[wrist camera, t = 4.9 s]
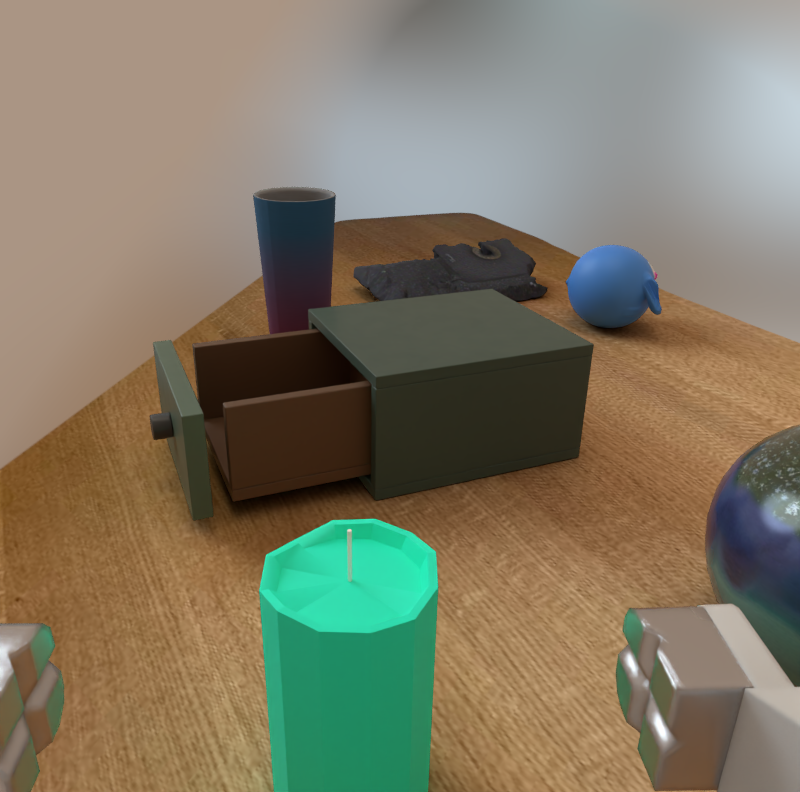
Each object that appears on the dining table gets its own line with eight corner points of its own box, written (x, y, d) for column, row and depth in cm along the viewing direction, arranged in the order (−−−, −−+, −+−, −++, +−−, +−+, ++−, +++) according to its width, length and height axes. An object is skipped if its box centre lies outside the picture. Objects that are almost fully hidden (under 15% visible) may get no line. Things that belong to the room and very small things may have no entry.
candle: (405, 712, 33) (412, 473, 28) (450, 839, 28) (468, 572, 23) (266, 742, 31) (247, 494, 26) (285, 881, 26) (266, 605, 21)
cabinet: (375, 501, 48) (376, 376, 45) (311, 413, 60) (307, 309, 56) (578, 457, 54) (594, 344, 50) (485, 385, 65) (492, 288, 62)
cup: (296, 342, 74) (289, 184, 68) (352, 357, 71) (351, 192, 64) (247, 363, 69) (235, 194, 62) (306, 381, 65) (300, 204, 59)
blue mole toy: (697, 327, 80) (712, 248, 77) (627, 350, 74) (640, 265, 70) (606, 298, 89) (615, 226, 85) (536, 317, 82) (543, 240, 79)
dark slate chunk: (337, 283, 93) (337, 244, 91) (488, 264, 102) (490, 229, 100) (396, 320, 80) (396, 276, 78) (560, 295, 90) (565, 255, 88)
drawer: (171, 525, 44) (158, 420, 41) (146, 433, 54) (134, 343, 51) (418, 474, 50) (422, 379, 47) (353, 399, 60) (352, 318, 57)
